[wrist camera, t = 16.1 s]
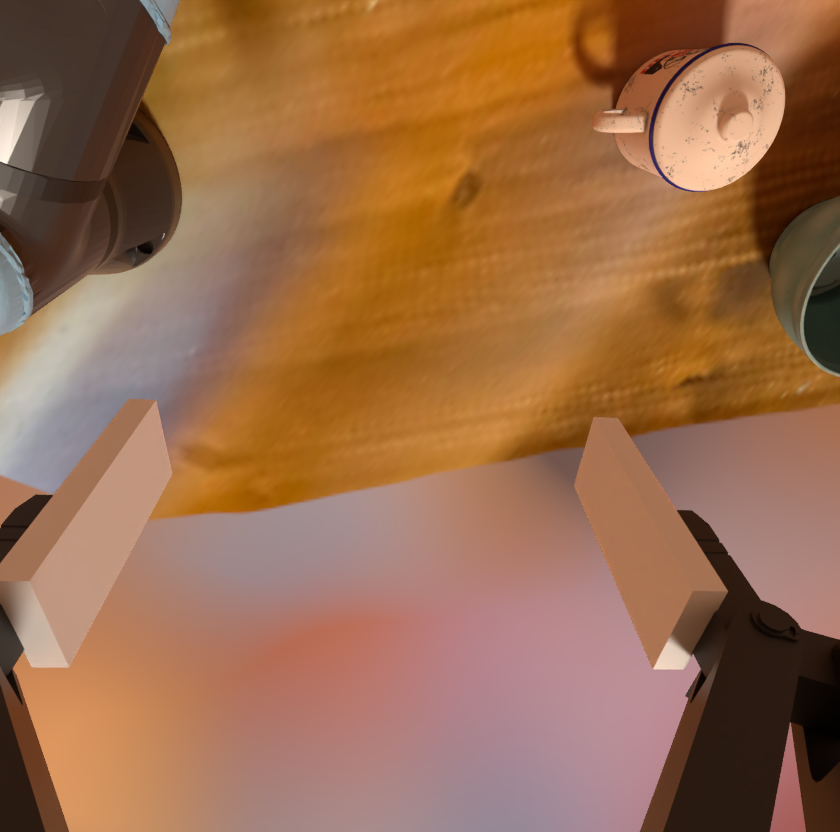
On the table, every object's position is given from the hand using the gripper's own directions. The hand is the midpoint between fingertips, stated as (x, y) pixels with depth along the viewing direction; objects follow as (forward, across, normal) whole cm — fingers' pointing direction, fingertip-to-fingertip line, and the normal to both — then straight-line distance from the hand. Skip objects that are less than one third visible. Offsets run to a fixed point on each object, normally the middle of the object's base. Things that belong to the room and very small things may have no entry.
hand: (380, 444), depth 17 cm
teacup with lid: (+37, +21, +8) cm, 43 cm away
